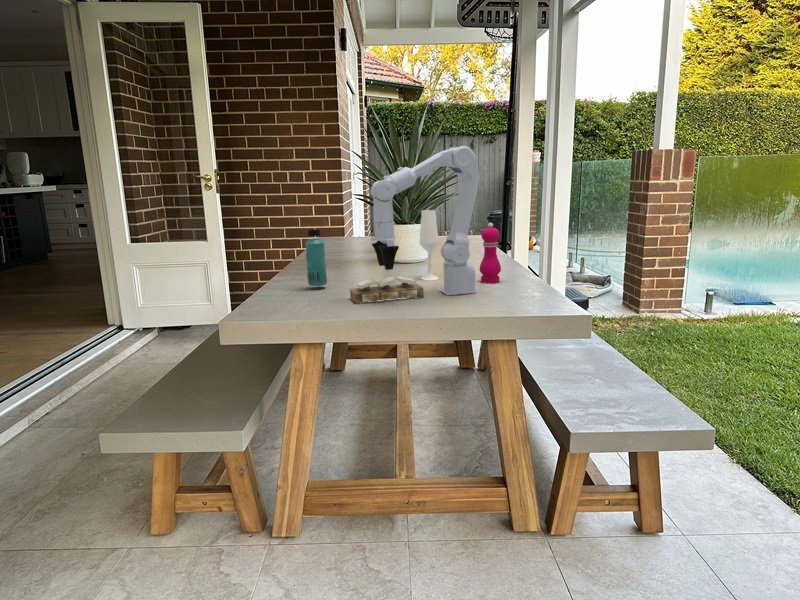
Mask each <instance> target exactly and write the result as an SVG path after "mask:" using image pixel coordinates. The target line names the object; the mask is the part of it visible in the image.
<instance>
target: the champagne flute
mask: <svg viewBox="0 0 800 600" xmlns="http://www.w3.org/2000/svg"><path fill="white" fill-rule="evenodd" d="M436 215H437V213H436V209H425V210H423V209H422V210H421V215H420V216H421V217H420V228H419V245H420V247H421V248H422V249H423V250H424V251H425V252H427V273H426V274H424V275H423V276H422V277H420V278H421V279H423V280H422V281H435V280H439V279H440V277H438V276H436V275H435V274H433V273H432V251H434V250H435V249H436V248H437V246H438V244H439V235H438V224H437V216H436ZM421 279H420V280H421Z"/></svg>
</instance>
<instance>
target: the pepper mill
mask: <svg viewBox="0 0 800 600" xmlns="http://www.w3.org/2000/svg"><path fill="white" fill-rule="evenodd" d="M493 226H494V224H493V223H492V222H489V223H487V227H486V228H484V229H483V230H482V232H481V239H482V240H483V242H482V246H483V249H484V251H483V252H484V254H483V258H482V260H481V262H480V264H479V272H480V274H481V276H480V282H481V283H483V284H498V283H500V276H499V274H500V273H501V272H502V266H501V263H500V260H499V259H498V255H497V247H499V244H498V243H499V239H500V231H499V229H497V228H496V227H493Z"/></svg>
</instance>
